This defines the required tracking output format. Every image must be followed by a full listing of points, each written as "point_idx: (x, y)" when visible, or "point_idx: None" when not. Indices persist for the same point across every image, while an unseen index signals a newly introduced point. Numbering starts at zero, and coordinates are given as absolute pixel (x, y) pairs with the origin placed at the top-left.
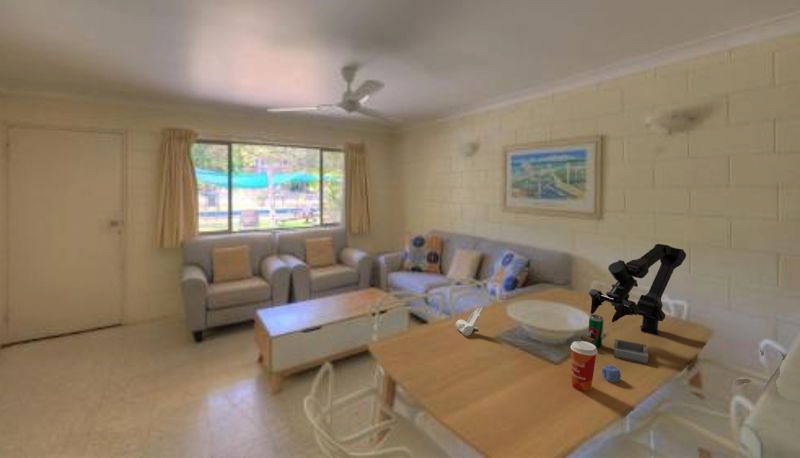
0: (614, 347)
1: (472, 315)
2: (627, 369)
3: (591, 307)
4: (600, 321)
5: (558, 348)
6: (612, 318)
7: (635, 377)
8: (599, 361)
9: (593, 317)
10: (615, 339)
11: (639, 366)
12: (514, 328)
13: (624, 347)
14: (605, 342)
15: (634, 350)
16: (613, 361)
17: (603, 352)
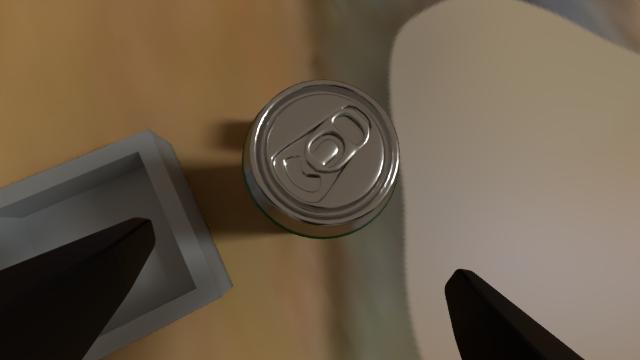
0: (171, 174)
1: None
2: (68, 68)
3: (540, 326)
4: (252, 123)
5: (385, 13)
6: (123, 232)
7: (13, 23)
8: (196, 41)
9: (334, 94)
10: (212, 289)
11: (34, 148)
12: (637, 40)
13: (170, 299)
14: (288, 290)
15: None
16: (150, 94)
17: (231, 150)
